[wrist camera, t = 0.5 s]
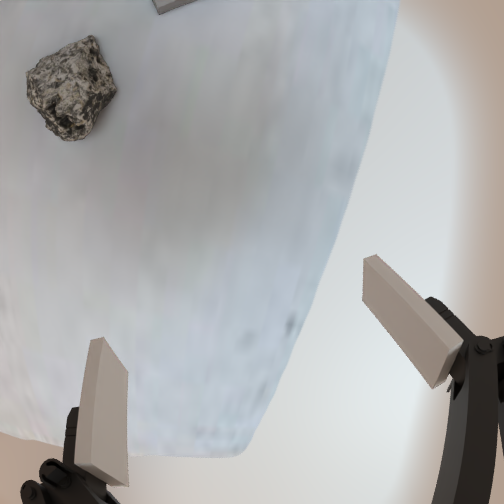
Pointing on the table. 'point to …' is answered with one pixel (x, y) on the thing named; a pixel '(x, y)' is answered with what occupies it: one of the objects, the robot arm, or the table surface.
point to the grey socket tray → (169, 4)
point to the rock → (71, 88)
